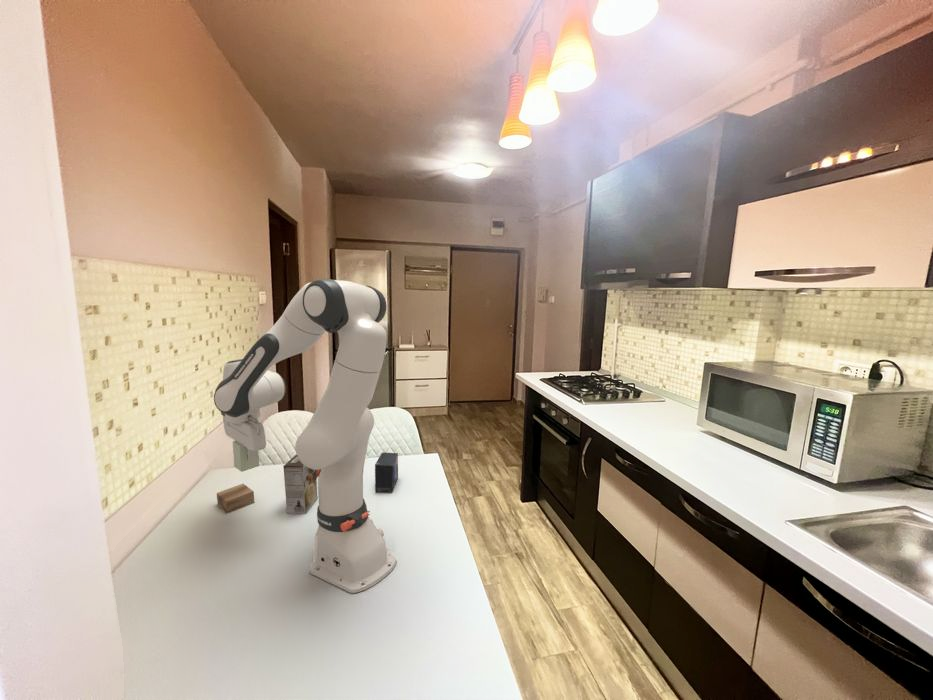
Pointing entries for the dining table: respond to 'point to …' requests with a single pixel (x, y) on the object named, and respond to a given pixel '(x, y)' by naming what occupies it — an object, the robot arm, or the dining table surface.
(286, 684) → the dining table surface
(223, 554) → the dining table surface
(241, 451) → the sage block
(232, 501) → the base block
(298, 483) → the coffee box
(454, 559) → the dining table surface
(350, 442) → the robot arm
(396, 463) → the small box
